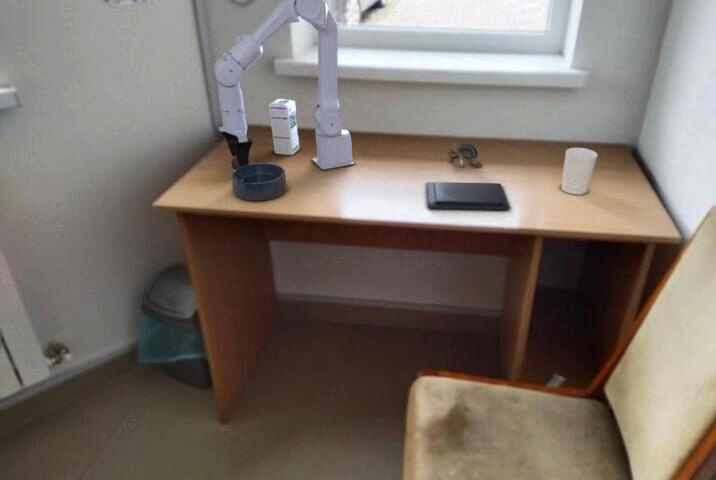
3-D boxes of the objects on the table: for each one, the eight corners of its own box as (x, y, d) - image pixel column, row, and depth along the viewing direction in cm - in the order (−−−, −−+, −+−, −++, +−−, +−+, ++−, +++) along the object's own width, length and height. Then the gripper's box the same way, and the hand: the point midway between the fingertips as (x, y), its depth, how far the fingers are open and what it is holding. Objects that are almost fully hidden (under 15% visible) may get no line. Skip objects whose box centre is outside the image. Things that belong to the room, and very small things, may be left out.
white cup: (572, 197, 143) (580, 160, 137) (552, 186, 149) (559, 150, 143) (595, 192, 146) (604, 156, 141) (575, 181, 152) (582, 145, 146)
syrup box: (292, 155, 162) (288, 105, 154) (273, 153, 163) (268, 103, 155) (300, 148, 167) (295, 99, 159) (281, 147, 167) (276, 98, 159)
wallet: (427, 202, 134) (427, 177, 147) (427, 209, 135) (426, 183, 148) (510, 205, 134) (503, 179, 147) (509, 212, 135) (502, 186, 148)
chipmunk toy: (446, 165, 156) (477, 163, 153) (446, 139, 156) (478, 137, 153) (452, 170, 163) (482, 169, 161) (452, 146, 163) (483, 144, 161)
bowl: (277, 177, 148) (275, 159, 146) (293, 196, 139) (292, 177, 136) (228, 186, 143) (225, 168, 140) (241, 206, 134) (238, 187, 131)
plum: (248, 167, 154) (245, 148, 150) (253, 174, 150) (250, 154, 147) (230, 170, 152) (227, 151, 148) (235, 177, 148) (232, 157, 145)
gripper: (209, 103, 145) (218, 153, 152) (223, 119, 134) (231, 172, 142) (237, 100, 148) (243, 149, 155) (252, 115, 137) (259, 167, 145)
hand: (239, 160), depth 149 cm, fingers open, 7 cm apart
